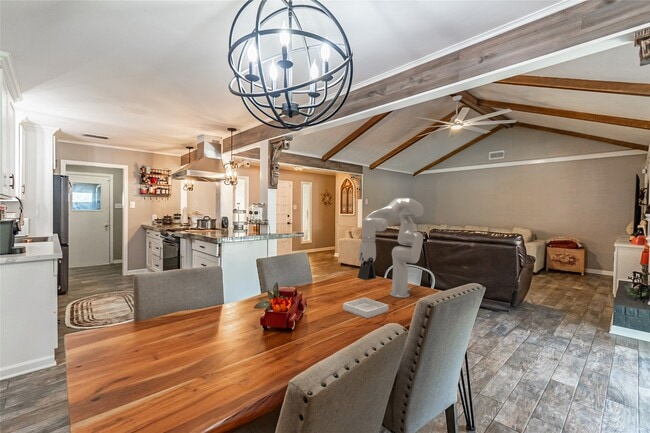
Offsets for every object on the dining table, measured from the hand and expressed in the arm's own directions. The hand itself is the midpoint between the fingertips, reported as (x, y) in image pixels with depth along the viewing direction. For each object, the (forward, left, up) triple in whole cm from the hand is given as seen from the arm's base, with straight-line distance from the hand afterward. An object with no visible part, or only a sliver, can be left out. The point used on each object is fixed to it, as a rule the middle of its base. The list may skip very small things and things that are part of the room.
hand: (367, 273), depth 168 cm
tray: (+3, +3, -20) cm, 20 cm away
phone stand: (0, 0, -3) cm, 3 cm away
